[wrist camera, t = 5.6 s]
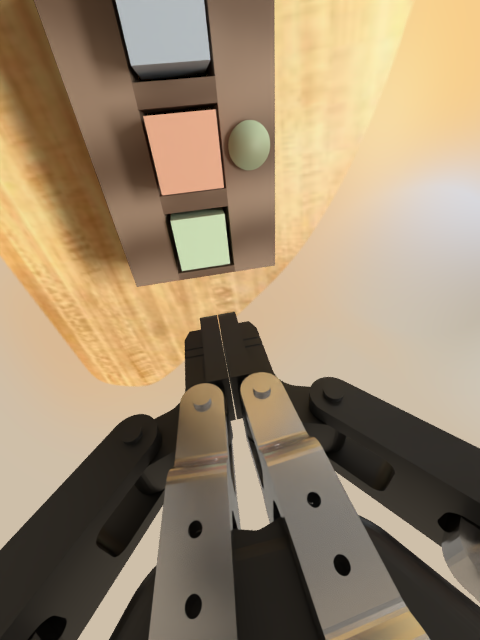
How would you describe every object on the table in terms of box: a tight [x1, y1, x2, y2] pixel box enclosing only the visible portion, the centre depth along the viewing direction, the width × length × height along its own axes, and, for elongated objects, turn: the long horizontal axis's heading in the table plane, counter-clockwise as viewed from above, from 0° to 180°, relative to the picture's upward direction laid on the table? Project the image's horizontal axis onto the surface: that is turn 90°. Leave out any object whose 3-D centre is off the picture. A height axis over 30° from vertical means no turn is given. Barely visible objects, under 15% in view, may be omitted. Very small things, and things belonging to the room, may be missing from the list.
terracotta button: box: [143, 109, 224, 195], centre depth 17 cm, size 4×4×4 cm
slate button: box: [116, 0, 210, 80], centre depth 14 cm, size 4×4×4 cm
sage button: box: [170, 207, 230, 271], centre depth 22 cm, size 4×4×4 cm
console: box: [34, 0, 275, 287], centre depth 19 cm, size 18×12×5 cm, turn 5°
